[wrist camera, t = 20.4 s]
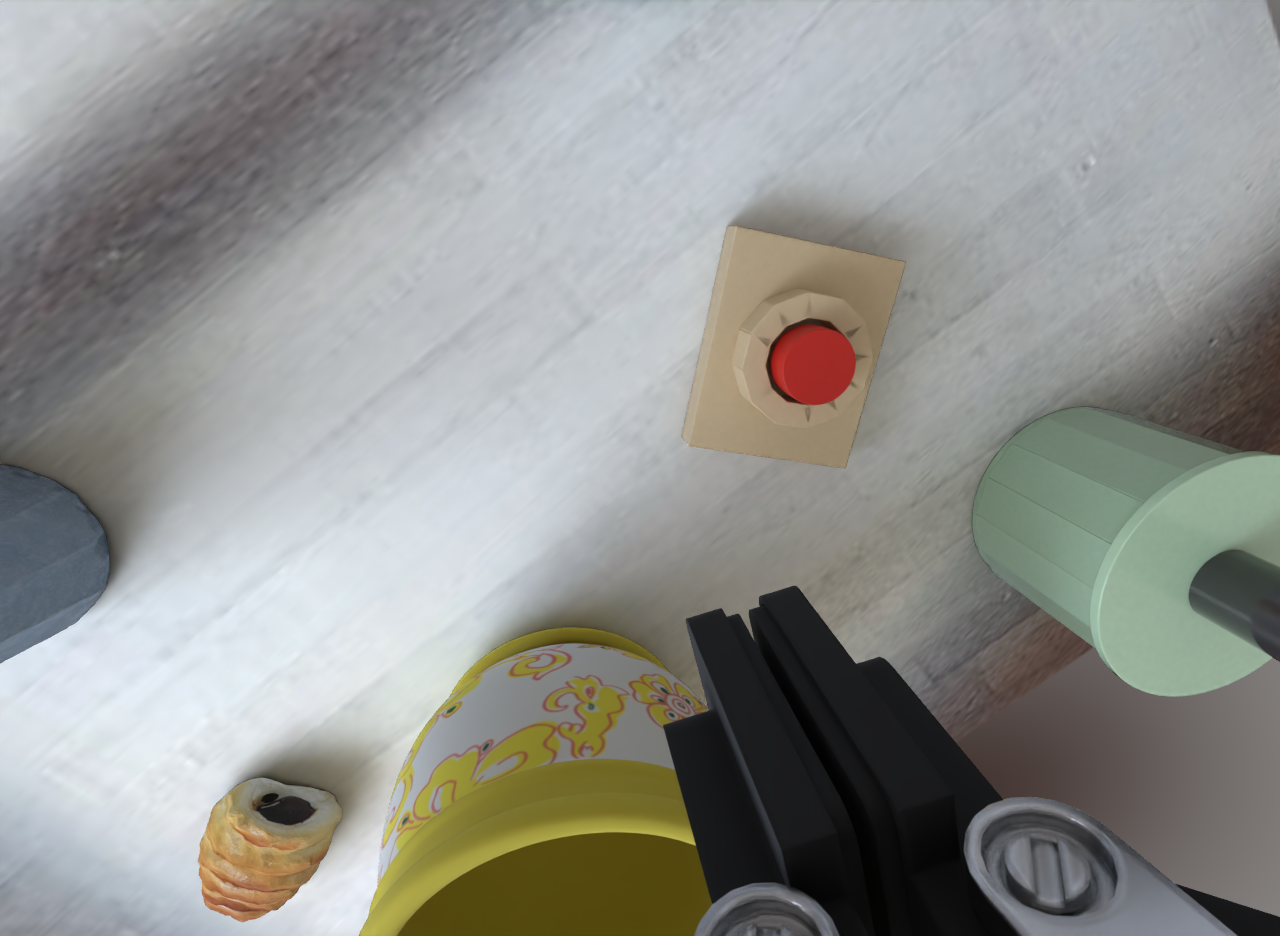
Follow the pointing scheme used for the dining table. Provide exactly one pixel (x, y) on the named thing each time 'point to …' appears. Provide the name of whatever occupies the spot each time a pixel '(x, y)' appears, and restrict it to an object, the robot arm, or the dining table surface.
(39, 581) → the moka pot
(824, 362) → the button
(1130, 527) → the lid
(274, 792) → the pastry
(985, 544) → the mint green cup
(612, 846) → the flowerpot
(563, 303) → the dining table surface
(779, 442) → the switch block
